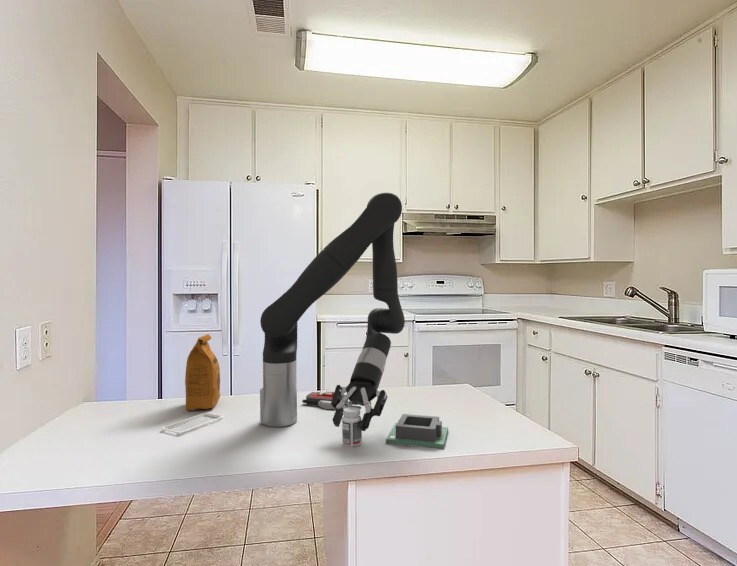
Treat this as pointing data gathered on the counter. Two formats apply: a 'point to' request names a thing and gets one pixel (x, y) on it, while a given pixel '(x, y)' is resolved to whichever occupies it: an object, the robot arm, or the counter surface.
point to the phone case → (191, 420)
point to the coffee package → (202, 376)
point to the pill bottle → (351, 427)
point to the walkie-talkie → (322, 399)
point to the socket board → (418, 431)
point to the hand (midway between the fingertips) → (349, 427)
